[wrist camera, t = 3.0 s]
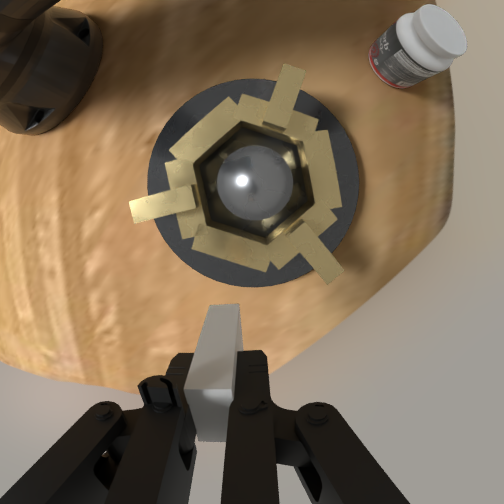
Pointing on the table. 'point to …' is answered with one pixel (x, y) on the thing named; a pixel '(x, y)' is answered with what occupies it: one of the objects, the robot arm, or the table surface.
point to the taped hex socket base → (235, 240)
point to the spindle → (255, 182)
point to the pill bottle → (417, 47)
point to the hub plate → (209, 170)
